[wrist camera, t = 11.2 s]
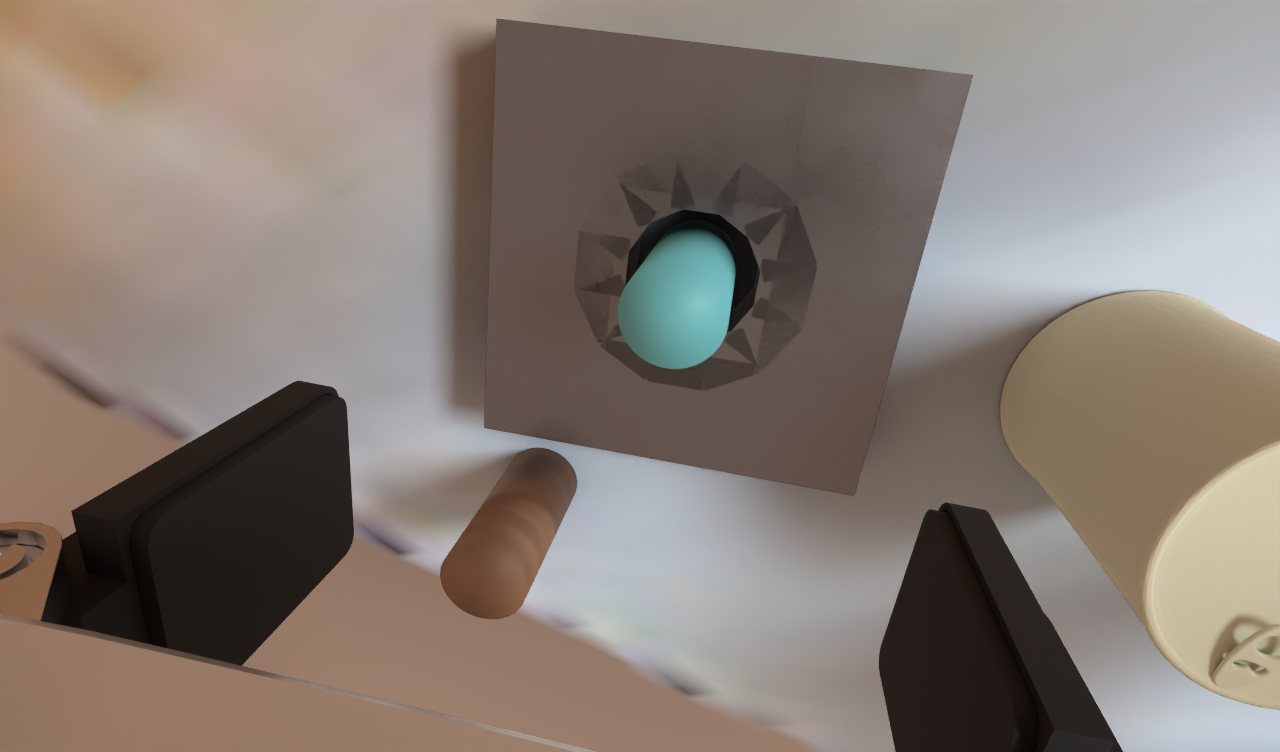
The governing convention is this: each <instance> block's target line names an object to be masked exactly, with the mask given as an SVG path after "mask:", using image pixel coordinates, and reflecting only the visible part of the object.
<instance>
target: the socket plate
mask: <svg viewBox="0 0 1280 752" xmlns="http://www.w3.org/2000/svg"><path fill="white" fill-rule="evenodd" d="M972 77H973V75H968V74H959V73H951V72H942V71H934V70H926V69H917V68H909V67H900V66H892V65H883V64H875V63H867V62H858V61H850V60H841V59H833V58H824V57H816V56H808V55H799V54H791V53H782V52H774V51H765V50H757V49H749V48H740V47H732V46H723V45H715V44H706V43H698V42H690V41H681V40H673V39H664V38H656V37H647V36H639V35H631V34H622V33H614V32H605V31H597V30H588V29H580V28H572V27H563V26H555V25H546V24H538V23H529V22H521V21H513V20H504V19H497V24H496V57H495V89H494V122H493V154H492V187H491V220H490V252H489V285H488V317H487V350H486V383H485V415H484V428H488V429H494V430H499V431H505V432H510V433H516V434H521V435H526V436H532V437H537V438H543V439H548V440H554V441H559V442H564V443H570V444H575V445H581V446H586V447H592V448H597V449H602V450H608V451H613V452H619V453H624V454H630V455H635V456H640V457H646V458H651V459H657V460H662V461H668V462H673V463H678V464H684V465H689V466H695V467H700V468H706V469H711V470H717V471H722V472H727V473H733V474H738V475H744V476H749V477H755V478H760V479H765V480H771V481H776V482H782V483H787V484H793V485H798V486H803V487H809V488H814V489H820V490H825V491H831V492H836V493H841V494H847V495H852V496H854V495H855V492H856V488H857V484H858V481H859V477H860V474H861V470H862V467H863V463H864V460H865V456H866V453H867V449H868V446H869V442H870V438H871V435H872V431H873V428H874V424H875V421H876V417H877V414H878V410H879V407H880V403H881V400H882V396H883V392H884V389H885V385H886V382H887V378H888V375H889V371H890V368H891V364H892V361H893V357H894V354H895V350H896V346H897V343H898V339H899V336H900V332H901V329H902V325H903V322H904V318H905V315H906V311H907V307H908V304H909V300H910V297H911V293H912V290H913V286H914V283H915V279H916V276H917V272H918V269H919V265H920V261H921V258H922V254H923V251H924V247H925V244H926V240H927V237H928V233H929V230H930V226H931V223H932V219H933V215H934V212H935V208H936V205H937V201H938V198H939V194H940V191H941V187H942V184H943V180H944V177H945V173H946V169H947V166H948V162H949V159H950V155H951V152H952V148H953V145H954V141H955V138H956V134H957V131H958V127H959V123H960V120H961V116H962V113H963V109H964V106H965V102H966V99H967V95H968V92H969V88H970V85H971V81H972ZM683 209H684V210H691V211H698V212H705V213H712V214H719V215H721V216H722V217H723V218H724V219H726V220H727V221H728V222H729V223H730V224H732V225H733V226H734V227H735V228H737V229H738V230H739V231H740V232H742V233H743V234H744V235H745V236H747V237H748V239H749V242H750V245H751V247H752V250H753V253H754V255H755V258H756V261H757V264H758V268H757V273H756V279H755V284H754V287H753V288H752V289H751V290H750V292H749V293H748V294H747V295H746V296H745V297H744V298H743V300H742V301H741V302H740V303H739V304H738V305H737V307H736V308H735V309H734V310H732V311H730V317H729V324H728V329H727V333H726V335H725V338H724V340H723V342H722V343H721V345H720V347H719V348H718V349H717V350H716V351H715V352H714V353H713V354H712V355H711V356H710V357H709V358H708V359H706V360H705V361H703V362H701V363H699V364H697V365H694V366H691V367H688V368H682V369H669V368H663V367H658V366H656V365H653V364H651V363H649V362H647V361H645V360H643V359H642V358H641V357H639V356H638V355H637V354H636V353H635V352H634V351H633V350H632V349H631V348H630V347H629V345H628V344H627V343H626V341H625V339H624V337H623V335H622V333H621V330H620V327H619V322H618V305H619V300H620V297H621V294H622V292H623V290H624V288H625V286H626V285H627V283H628V282H629V281H630V279H631V278H632V276H633V275H634V274H635V272H636V271H637V270H638V261H639V252H640V244H641V237H642V235H643V234H644V233H645V231H646V230H647V229H648V227H649V226H650V225H651V223H652V222H654V221H656V220H659V219H661V218H663V217H666V216H668V215H671V214H673V213H676V212H678V211H680V210H683Z"/></svg>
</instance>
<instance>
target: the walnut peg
mask: <svg viewBox="0 0 1280 752" xmlns="http://www.w3.org/2000/svg"><path fill="white" fill-rule="evenodd" d="M576 488H577V479H576V474H575V472H574V469H573V468H572V466H571V465H570V463H569V462H568V461H567V460H566V459H565V458H564V457H563V456H561V455H560V454H558V453H556V452H554V451H552V450H549V449H544V448H532V449H528V450H525V451H523V452H521V453H520V454H518V455H517V456H516V457H515V458H514V460H513V461H512V463H511V464H510V466H509V467H508V468H507V470H506V471H505V473H504V474H503V476H502V477H501V479H500V480H499V482H498V483H497V484H496V486H495V487H494V489H493V490H492V492H491V493H490V495H489V496H488V497H487V499H486V500H485V502H484V503H483V505H482V506H481V508H480V509H479V510H478V512H477V513H476V515H475V516H474V518H473V519H472V521H471V522H470V523H469V525H468V526H467V528H466V529H465V531H464V532H463V534H462V535H461V537H460V538H459V539H458V541H457V542H456V544H455V545H454V547H453V548H452V550H451V551H450V552H449V554H448V555H447V557H446V558H445V560H444V561H443V564H442V566H441V572H440V577H441V583H442V586H443V588H444V590H445V592H446V594H447V596H448V597H449V598H450V599H451V601H452V602H453V603H454V604H456V605H457V606H458V607H459V608H460V609H462V610H463V611H465V612H467V613H469V614H471V615H473V616H476V617H480V618H485V619H500V618H504V617H508V616H510V615H512V614H513V613H515V612H516V611H517V610H518V609H519V608H520V607H521V606H522V604H523V602H524V600H525V598H526V596H527V594H528V592H529V589H530V587H531V585H532V583H533V581H534V579H535V577H536V575H537V573H538V570H539V568H540V566H541V564H542V562H543V560H544V558H545V556H546V553H547V551H548V549H549V547H550V545H551V543H552V541H553V539H554V537H555V534H556V532H557V530H558V528H559V526H560V524H561V522H562V520H563V518H564V515H565V513H566V511H567V509H568V507H569V505H570V503H571V501H572V498H573V496H574V494H575V492H576Z"/></svg>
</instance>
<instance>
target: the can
mask: <svg viewBox="0 0 1280 752" xmlns="http://www.w3.org/2000/svg"><path fill="white" fill-rule="evenodd" d="M1000 421H1001V427H1002V432H1003V435H1004V438H1005V441H1006V443H1007V446H1008V448H1009V450H1010V451H1011V453H1012V455H1013V456H1014V458H1015V459H1016V460H1017V461H1018V463H1019V464H1020V465H1021V466H1022V467H1023V468H1024V469H1025V470H1026V471H1027V472H1028V473H1029V474H1030V475H1031V476H1033V477H1034V478H1035V479H1036V480H1037V481H1038V482H1039V484H1040V485H1041V486H1042V488H1043V489H1044V490H1045V491H1046V493H1047V494H1048V495H1049V497H1050V498H1051V499H1052V500H1053V502H1054V503H1055V504H1056V506H1057V507H1058V508H1059V510H1060V511H1061V512H1062V514H1063V515H1064V516H1065V518H1066V519H1067V520H1068V521H1069V523H1070V524H1071V525H1072V527H1073V528H1074V530H1075V531H1076V532H1077V534H1078V535H1079V536H1080V538H1081V539H1082V540H1083V542H1084V543H1085V545H1086V546H1087V547H1088V549H1089V550H1090V551H1091V553H1092V554H1093V555H1094V557H1095V558H1096V560H1097V561H1098V562H1099V564H1100V565H1101V566H1102V568H1103V569H1104V570H1105V572H1106V573H1107V574H1108V576H1109V577H1110V579H1111V580H1112V581H1113V583H1114V584H1115V585H1116V587H1117V588H1118V589H1119V591H1120V592H1121V594H1122V595H1123V596H1124V598H1125V599H1126V600H1127V602H1128V603H1129V605H1130V606H1131V608H1132V609H1133V610H1134V612H1135V613H1136V615H1137V616H1138V618H1139V619H1140V620H1141V622H1142V623H1143V625H1144V626H1145V629H1146V631H1147V633H1148V634H1149V636H1150V638H1151V640H1152V642H1153V643H1154V644H1155V646H1156V647H1157V649H1158V650H1159V651H1160V653H1161V654H1162V655H1163V656H1164V657H1165V659H1167V660H1168V661H1169V662H1170V663H1171V664H1172V665H1173V666H1174V667H1175V668H1176V669H1177V670H1179V671H1180V672H1181V673H1182V674H1184V675H1185V676H1186V677H1188V678H1189V679H1190V680H1192V681H1194V682H1195V683H1197V684H1199V685H1201V686H1202V687H1204V688H1206V689H1208V690H1210V691H1212V692H1214V693H1217V694H1219V695H1221V696H1224V697H1227V698H1230V699H1233V700H1235V701H1239V702H1243V703H1246V704H1250V705H1254V706H1258V707H1263V708H1270V709H1277V710H1280V342H1278V341H1276V340H1273V339H1271V338H1269V337H1267V336H1265V335H1262V334H1260V333H1258V332H1256V331H1254V330H1252V329H1250V328H1248V327H1245V326H1243V325H1241V324H1239V323H1237V322H1235V321H1233V320H1231V319H1229V318H1228V317H1227V316H1226V315H1224V314H1223V313H1222V312H1220V311H1219V310H1217V309H1216V308H1214V307H1212V306H1211V305H1209V304H1206V303H1204V302H1202V301H1200V300H1198V299H1195V298H1192V297H1189V296H1186V295H1182V294H1177V293H1172V292H1164V291H1132V292H1125V293H1119V294H1114V295H1110V296H1106V297H1102V298H1099V299H1096V300H1093V301H1090V302H1087V303H1085V304H1083V305H1081V306H1078V307H1076V308H1074V309H1072V310H1070V311H1068V312H1066V313H1065V314H1063V315H1062V316H1060V317H1059V318H1057V319H1055V320H1054V321H1052V322H1051V323H1050V324H1049V325H1047V326H1046V327H1045V328H1044V329H1042V330H1041V331H1040V332H1039V333H1038V334H1037V335H1036V336H1035V337H1034V338H1033V339H1032V340H1031V341H1030V342H1029V343H1028V344H1027V346H1026V347H1025V348H1024V349H1023V351H1022V352H1021V353H1020V354H1019V356H1018V357H1017V359H1016V361H1015V362H1014V364H1013V366H1012V367H1011V369H1010V371H1009V374H1008V376H1007V378H1006V381H1005V384H1004V387H1003V391H1002V396H1001V403H1000Z"/></svg>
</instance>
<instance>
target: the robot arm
mask: <svg viewBox="0 0 1280 752" xmlns="http://www.w3.org/2000/svg"><path fill="white" fill-rule="evenodd" d="M72 515H73V520H74V524H75V528H76V532H75V533H73V534H71V535H70V536H68V537H67V538H65V539H63V540H62V536H61V534H60V533H59V532H58V531H57V530H56V529H55V528H54V527H51V526H48V525H44V524H41V523H32V522H13V523H2V524H0V752H597V751H593V750H588V749H585V748H580V747H576V746H572V745H568V744H564V743H560V742H556V741H552V740H548V739H543V738H539V737H535V736H531V735H527V734H523V733H519V732H515V731H511V730H507V729H502V728H499V727H494V726H490V725H486V724H482V723H478V722H473V721H470V720H466V719H462V718H458V717H453V716H449V715H445V714H441V713H437V712H433V711H429V710H424V709H420V708H416V707H412V706H408V705H404V704H400V703H395V702H391V701H387V700H383V699H379V698H375V697H371V696H366V695H362V694H358V693H354V692H350V691H345V690H341V689H337V688H333V687H329V686H324V685H320V684H316V683H311V682H307V681H303V680H299V679H295V678H290V677H286V676H282V675H278V674H274V673H269V672H265V671H261V670H257V669H252V668H248V667H244V666H242V665H243V664H244V662H245V661H246V660H247V659H248V658H249V657H250V656H251V655H252V654H253V653H254V652H255V651H256V650H257V649H258V648H259V647H260V646H261V644H262V643H263V642H264V641H265V640H266V639H267V638H268V637H269V636H270V635H271V634H272V633H273V631H275V630H276V628H277V627H278V626H279V625H280V624H281V623H282V622H283V621H284V620H285V619H286V618H287V617H288V616H289V614H291V612H292V611H293V610H294V609H295V608H296V607H297V606H298V605H299V604H300V603H301V602H302V601H303V600H304V599H305V598H306V597H307V596H308V594H309V593H310V592H311V591H312V590H313V589H314V588H315V587H316V586H317V585H318V584H319V583H320V582H321V581H322V579H323V578H324V577H325V576H326V575H327V574H328V573H329V572H330V571H331V570H332V569H333V568H334V567H335V566H336V565H337V564H338V563H339V561H340V560H341V559H342V558H343V557H344V556H345V555H346V554H347V552H348V550H349V549H350V547H351V544H352V541H353V536H354V527H353V510H352V492H351V474H350V457H349V439H348V421H347V407H346V403H345V401H344V399H343V398H341V397H339V396H338V393H337V391H336V390H335V389H334V388H333V387H329V386H324V385H318V384H313V383H308V382H302V381H296V382H293V383H291V384H290V385H288V386H286V387H284V388H283V389H281V390H279V391H278V392H276V393H274V394H272V395H271V396H269V397H267V398H266V399H264V400H262V401H260V402H259V403H257V404H255V405H253V406H252V407H250V408H248V409H247V410H245V411H243V412H241V413H240V414H238V415H236V416H235V417H233V418H231V419H229V420H228V421H226V422H224V423H223V424H221V425H219V426H217V427H216V428H214V429H212V430H210V431H209V432H207V433H205V434H204V435H202V436H200V437H198V438H197V439H195V440H193V441H192V442H190V443H188V444H186V445H185V446H183V447H181V448H179V449H178V450H176V451H174V452H173V453H171V454H169V455H168V456H166V457H164V458H162V459H161V460H159V461H157V462H155V463H154V464H152V465H151V466H149V467H147V468H145V469H143V470H142V471H140V472H138V473H136V474H135V475H133V476H131V477H130V478H128V479H126V480H124V481H123V482H121V483H119V484H118V485H116V486H114V487H112V488H111V489H109V490H107V491H106V492H104V493H102V494H100V495H99V496H97V497H95V498H93V499H92V500H90V501H88V502H87V503H85V504H83V505H81V506H80V507H78V508H76V509H74V510H73V511H72ZM879 671H880V676H881V681H882V686H883V691H884V696H885V701H886V706H887V711H888V716H889V721H890V726H891V731H892V736H893V741H894V746H895V751H896V752H1123V751H1122V749H1121V747H1120V745H1119V744H1118V742H1117V740H1116V738H1115V736H1114V735H1113V733H1112V731H1111V729H1110V727H1109V726H1108V724H1107V722H1106V720H1105V718H1104V717H1103V715H1102V713H1101V711H1100V709H1099V708H1098V706H1097V704H1096V702H1095V700H1094V699H1093V697H1092V695H1091V693H1090V691H1089V690H1088V688H1087V686H1086V684H1085V682H1084V681H1083V679H1082V677H1081V675H1080V673H1079V672H1078V670H1077V668H1076V666H1075V664H1074V663H1073V661H1072V659H1071V657H1070V655H1069V654H1068V652H1067V650H1066V648H1065V646H1064V644H1063V643H1062V641H1061V639H1060V637H1059V635H1058V634H1057V632H1056V630H1055V628H1054V626H1053V625H1052V623H1051V621H1050V620H1049V619H1048V617H1047V616H1046V615H1045V614H1044V613H1043V611H1042V609H1041V607H1040V605H1039V604H1038V602H1037V600H1036V598H1035V596H1034V594H1033V593H1032V591H1031V589H1030V587H1029V585H1028V584H1027V582H1026V580H1025V578H1024V576H1023V574H1022V573H1021V571H1020V569H1019V567H1018V565H1017V564H1016V562H1015V560H1014V558H1013V556H1012V554H1011V553H1010V551H1009V549H1008V547H1007V545H1006V544H1005V542H1004V540H1003V538H1002V536H1001V534H1000V533H999V531H998V529H997V527H996V525H995V524H994V522H993V520H992V518H991V516H990V514H989V513H988V512H987V511H986V510H982V509H977V508H972V507H966V506H961V505H956V504H950V503H944V504H942V506H941V507H940V508H939V510H938V511H936V510H931V509H930V510H928V511H927V513H926V514H925V516H924V519H923V522H922V525H921V528H920V531H919V534H918V537H917V540H916V543H915V546H914V549H913V552H912V555H911V558H910V561H909V564H908V567H907V570H906V573H905V576H904V579H903V582H902V585H901V588H900V591H899V594H898V597H897V600H896V603H895V606H894V609H893V612H892V615H891V618H890V621H889V624H888V627H887V630H886V633H885V636H884V639H883V642H882V645H881V649H880V655H879Z"/></svg>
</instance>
